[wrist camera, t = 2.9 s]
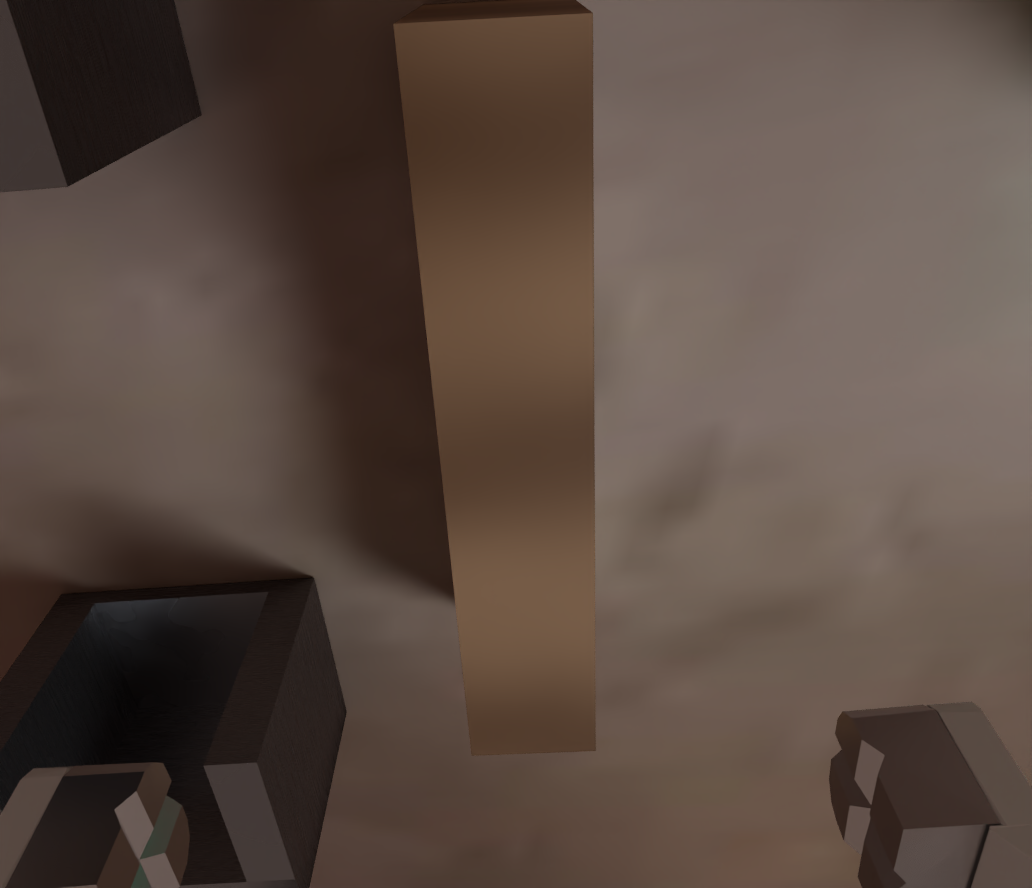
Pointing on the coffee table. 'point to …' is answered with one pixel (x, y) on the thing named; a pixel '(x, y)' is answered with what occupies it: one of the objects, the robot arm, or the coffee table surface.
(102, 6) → the endcap
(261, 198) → the coffee table surface
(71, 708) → the endcap
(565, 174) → the slat
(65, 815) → the robot arm
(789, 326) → the coffee table surface
